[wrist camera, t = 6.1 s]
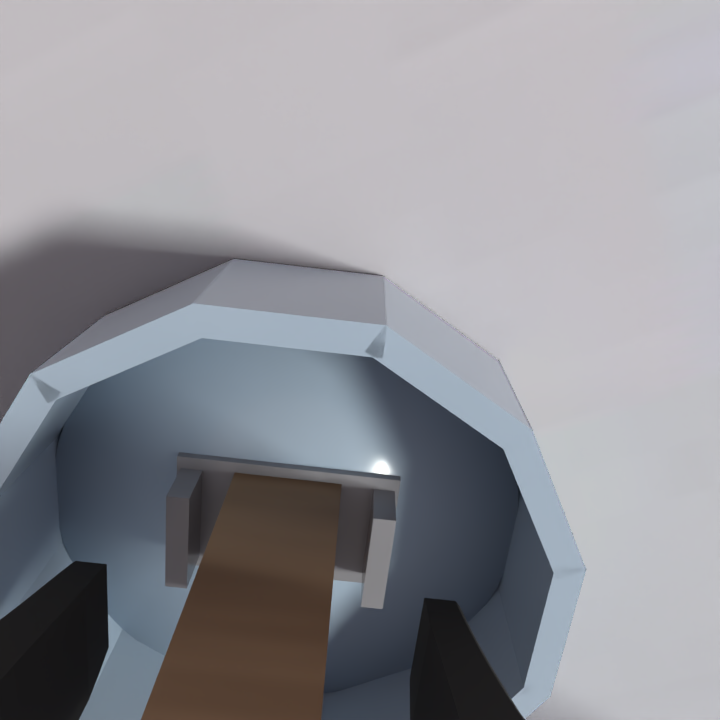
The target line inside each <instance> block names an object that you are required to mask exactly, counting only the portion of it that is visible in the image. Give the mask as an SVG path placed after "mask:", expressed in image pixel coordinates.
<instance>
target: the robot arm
mask: <svg viewBox="0 0 720 720" xmlns="http://www.w3.org/2000/svg"><path fill="white" fill-rule="evenodd" d="M108 648H109V635H108V595H107V564H101V563H92V562H82V561H74V562H73V563H72V564H70V565H69V566H68V567H66V568H65V569H64V570H62V571H61V572H60V573H59V574H57V575H56V576H55V577H54V578H52V579H51V580H50V581H49V582H47V583H46V584H45V585H44V586H42V587H41V588H40V589H39V590H37V591H36V592H35V593H34V594H32V595H31V596H30V597H29V598H27V599H26V600H25V601H24V602H22V603H21V604H20V605H18V606H17V607H16V608H15V609H13V610H12V611H11V612H9V613H8V614H7V615H6V616H4V617H3V618H2V619H0V720H79V719H80V717H81V715H82V713H83V711H84V709H85V707H86V705H87V703H88V701H89V698H90V696H91V693H92V691H93V688H94V686H95V683H96V681H97V678H98V675H99V673H100V670H101V667H102V664H103V662H104V659H105V656H106V654H107V651H108ZM410 720H525V719H524V718H523V716H522V715H521V713H520V712H519V710H518V709H517V707H516V706H515V704H514V702H513V701H512V699H511V698H510V696H509V695H508V693H507V691H506V690H505V688H504V686H503V685H502V683H501V682H500V680H499V678H498V677H497V675H496V673H495V672H494V670H493V668H492V667H491V665H490V663H489V661H488V660H487V658H486V656H485V654H484V653H483V651H482V649H481V647H480V645H479V643H478V642H477V640H476V638H475V636H474V634H473V632H472V630H471V628H470V626H469V624H468V622H467V620H466V618H465V616H464V614H463V612H462V610H461V608H460V606H459V605H458V603H457V602H456V601H451V600H442V599H432V598H424V602H423V608H422V613H421V619H420V624H419V630H418V635H417V641H416V646H415V652H414V657H413V663H412V668H411V674H410Z"/></svg>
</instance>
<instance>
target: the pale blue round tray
mask: <svg viewBox="0 0 720 720" xmlns="http://www.w3.org/2000/svg"><path fill="white" fill-rule="evenodd" d="M234 473H244V474H253V475H262V476H271V477H281V478H290V479H299V480H308V481H317V482H326V483H335V484H342V486H341V498H340V509H339V521H338V532H337V544H336V555H335V567H334V578H333V590H332V601H331V613H330V624H329V636H328V647H327V659H326V670H325V682H324V693H323V704H322V716H321V720H410V674H411V668H412V663H413V657H414V652H415V646H416V641H417V635H418V630H419V624H420V619H421V613H422V608H423V602H424V598H432V599H442V600H451V601H456V602H457V603H458V605H459V606H460V608H461V610H462V612H463V614H464V616H465V618H466V620H467V622H468V624H469V626H470V628H471V630H472V632H473V634H474V636H475V638H476V640H477V642H478V643H479V645H480V647H481V649H482V651H483V653H484V654H485V656H486V658H487V660H488V661H489V663H490V665H491V667H492V668H493V670H494V672H495V673H496V675H497V677H498V678H499V680H500V682H501V683H502V685H503V686H504V688H505V690H506V691H507V693H508V695H509V696H510V698H511V699H512V701H513V702H514V704H515V706H516V707H517V709H518V710H519V712H520V713H521V715H522V716H523V718H524V719H525V718H527V717H528V716H529V715H530V714H531V713H532V712H533V711H535V710H536V709H537V708H538V707H539V706H540V705H541V704H542V703H544V702H545V701H546V700H547V699H548V698H549V697H550V696H551V692H552V689H553V685H554V682H555V678H556V675H557V671H558V668H559V664H560V660H561V657H562V653H563V650H564V646H565V643H566V639H567V636H568V632H569V629H570V625H571V621H572V618H573V614H574V611H575V607H576V604H577V600H578V597H579V593H580V590H581V586H582V582H583V579H584V575H585V572H586V567H585V565H584V563H583V560H582V558H581V555H580V552H579V550H578V547H577V545H576V542H575V539H574V537H573V534H572V532H571V529H570V526H569V524H568V521H567V519H566V516H565V513H564V511H563V508H562V506H561V503H560V501H559V498H558V495H557V493H556V490H555V488H554V485H553V482H552V480H551V477H550V475H549V472H548V469H547V467H546V464H545V462H544V459H543V456H542V454H541V451H540V449H539V446H538V443H537V441H536V438H535V436H534V433H533V429H532V427H531V425H530V423H529V421H528V419H527V417H526V415H525V413H524V411H523V409H522V407H521V405H520V403H519V401H518V399H517V396H516V394H515V392H514V390H513V388H512V386H511V384H510V382H509V380H508V378H507V376H506V374H505V372H504V370H503V368H502V366H501V363H500V361H499V360H497V359H496V358H495V357H493V356H492V355H491V354H489V353H488V352H487V351H485V350H484V349H482V348H481V347H480V346H478V345H477V344H476V343H474V342H473V341H472V340H470V339H469V338H467V337H466V336H465V335H463V334H462V333H461V332H459V331H458V330H457V329H455V328H454V327H452V326H451V325H450V324H448V323H447V322H446V321H444V320H443V319H442V318H440V317H439V316H438V315H436V314H435V313H433V312H432V311H431V310H429V309H428V308H427V307H425V306H424V305H423V304H421V303H420V302H418V301H417V300H416V299H414V298H413V297H412V296H410V295H409V294H408V293H406V292H405V291H403V290H402V289H401V288H399V287H398V286H397V285H395V284H394V283H393V282H391V281H390V280H388V279H387V278H386V277H385V276H379V275H370V274H362V273H353V272H344V271H336V270H327V269H318V268H310V267H301V266H292V265H284V264H275V263H266V262H258V261H249V260H240V259H232V260H230V261H228V262H225V263H223V264H221V265H218V266H216V267H214V268H212V269H209V270H207V271H205V272H203V273H200V274H198V275H196V276H194V277H191V278H189V279H187V280H184V281H182V282H180V283H178V284H175V285H173V286H171V287H169V288H166V289H164V290H162V291H160V292H157V293H155V294H153V295H150V296H148V297H146V298H144V299H141V300H139V301H137V302H135V303H132V304H130V305H128V306H126V307H123V308H121V309H119V310H116V311H114V312H112V313H110V314H107V315H104V316H103V317H102V318H101V319H99V320H98V321H97V322H96V323H94V324H93V325H92V326H90V327H89V328H88V329H87V330H85V331H84V332H83V333H81V334H80V335H79V336H78V337H76V338H75V339H74V340H73V341H71V342H70V343H69V344H67V345H66V346H65V347H64V348H62V349H61V350H60V351H58V352H57V353H56V354H55V355H53V356H52V357H51V358H50V359H48V360H47V361H46V362H44V363H43V364H42V365H41V366H39V367H38V368H37V369H35V370H34V371H33V372H32V373H30V374H29V377H28V378H27V380H26V382H25V383H24V385H23V386H22V388H21V390H20V391H19V393H18V395H17V396H16V398H15V400H14V401H13V403H12V405H11V406H10V408H9V410H8V411H7V413H6V415H5V416H4V418H3V419H2V421H1V423H0V619H2V618H3V617H4V616H6V615H7V614H8V613H9V612H11V611H12V610H13V609H15V608H16V607H17V606H18V605H20V604H21V603H22V602H24V601H25V600H26V599H27V598H29V597H30V596H31V595H32V594H34V593H35V592H36V591H37V590H39V589H40V588H41V587H42V586H44V585H45V584H46V583H47V582H49V581H50V580H51V579H52V578H54V577H55V576H56V575H57V574H59V573H60V572H61V571H62V570H64V569H65V568H66V567H68V566H69V565H70V564H72V563H73V562H74V561H82V562H92V563H101V564H107V595H108V635H109V648H108V651H107V654H106V656H105V659H104V662H103V664H102V667H101V670H100V673H99V675H98V678H97V681H96V683H95V686H94V688H93V691H92V693H91V696H90V698H89V701H88V703H87V705H86V707H85V709H84V711H83V713H82V715H81V717H80V719H79V720H141V718H142V715H143V712H144V710H145V707H146V705H147V702H148V699H149V697H150V694H151V691H152V689H153V686H154V684H155V681H156V678H157V676H158V673H159V670H160V668H161V665H162V663H163V660H164V657H165V655H166V652H167V649H168V647H169V644H170V641H171V639H172V636H173V634H174V631H175V628H176V626H177V623H178V620H179V618H180V615H181V613H182V610H183V607H184V605H185V602H186V599H187V597H188V594H189V591H190V589H191V586H192V584H193V581H194V578H195V576H196V573H197V570H198V568H199V565H200V563H201V560H202V557H203V555H204V552H205V549H206V547H207V544H208V541H209V539H210V536H211V534H212V531H213V528H214V526H215V523H216V520H217V518H218V515H219V513H220V510H221V507H222V505H223V502H224V499H225V497H226V494H227V491H228V489H229V486H230V484H231V481H232V478H233V476H234Z"/></svg>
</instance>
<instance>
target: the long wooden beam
mask: <svg viewBox="0 0 720 720" xmlns="http://www.w3.org/2000/svg"><path fill="white" fill-rule="evenodd" d="M341 486H342V484H335V483H326V482H317V481H308V480H299V479H290V478H281V477H271V476H262V475H253V474H244V473H234V476H233V478H232V481H231V484H230V486H229V489H228V491H227V494H226V497H225V499H224V502H223V505H222V507H221V510H220V513H219V515H218V518H217V520H216V523H215V526H214V528H213V531H212V534H211V536H210V539H209V541H208V544H207V547H206V549H205V552H204V555H203V557H202V560H201V563H200V565H199V568H198V570H197V573H196V576H195V578H194V581H193V584H192V586H191V589H190V591H189V594H188V597H187V599H186V602H185V605H184V607H183V610H182V613H181V615H180V618H179V620H178V623H177V626H176V628H175V631H174V634H173V636H172V639H171V641H170V644H169V647H168V649H167V652H166V655H165V657H164V660H163V663H162V665H161V668H160V670H159V673H158V676H157V678H156V681H155V684H154V686H153V689H152V691H151V694H150V697H149V699H148V702H147V705H146V707H145V710H144V712H143V715H142V718H141V720H321V716H322V704H323V693H324V682H325V670H326V659H327V647H328V636H329V624H330V613H331V601H332V590H333V578H334V567H335V555H336V544H337V532H338V521H339V509H340V498H341Z"/></svg>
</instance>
